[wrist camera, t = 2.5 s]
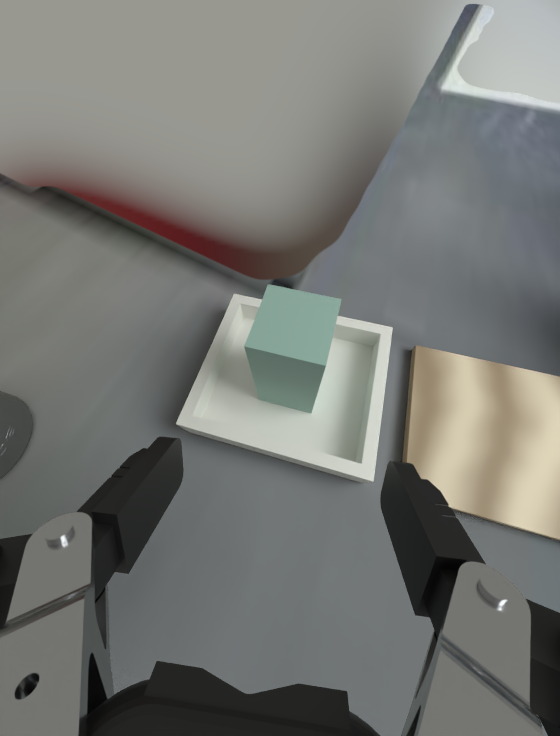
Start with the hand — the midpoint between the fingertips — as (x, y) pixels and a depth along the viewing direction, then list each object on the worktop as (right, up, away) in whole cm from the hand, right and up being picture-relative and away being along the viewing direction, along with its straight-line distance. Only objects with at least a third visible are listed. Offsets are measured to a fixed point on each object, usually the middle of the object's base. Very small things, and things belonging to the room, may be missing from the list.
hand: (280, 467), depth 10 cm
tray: (+1, +2, +16) cm, 16 cm away
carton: (+1, +2, +16) cm, 16 cm away
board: (+18, -2, +14) cm, 23 cm away
